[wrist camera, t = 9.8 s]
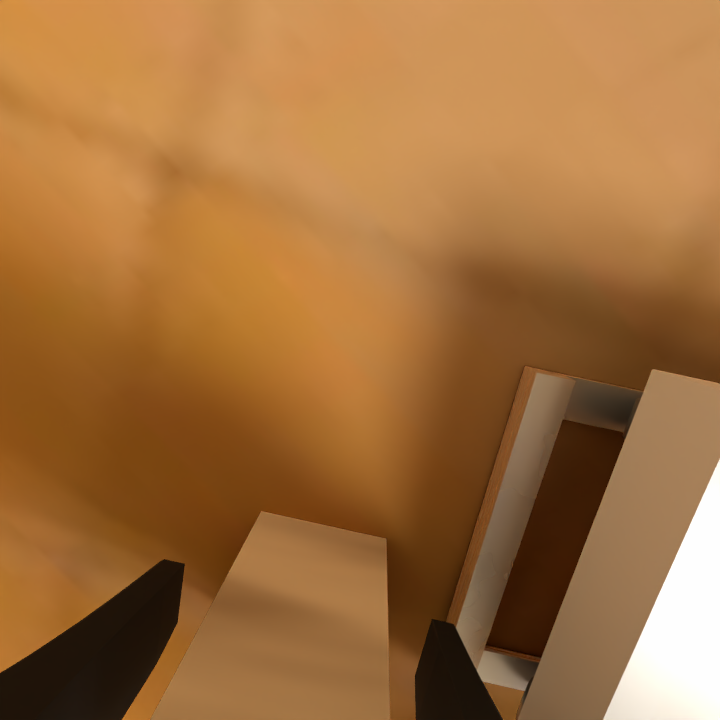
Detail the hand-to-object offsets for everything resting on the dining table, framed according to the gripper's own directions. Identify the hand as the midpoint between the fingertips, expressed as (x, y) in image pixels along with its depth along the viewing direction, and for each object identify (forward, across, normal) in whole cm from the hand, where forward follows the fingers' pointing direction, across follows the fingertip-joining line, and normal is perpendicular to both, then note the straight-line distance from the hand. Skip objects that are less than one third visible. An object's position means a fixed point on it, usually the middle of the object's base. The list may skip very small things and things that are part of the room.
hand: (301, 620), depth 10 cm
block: (+2, 0, 0) cm, 2 cm away
